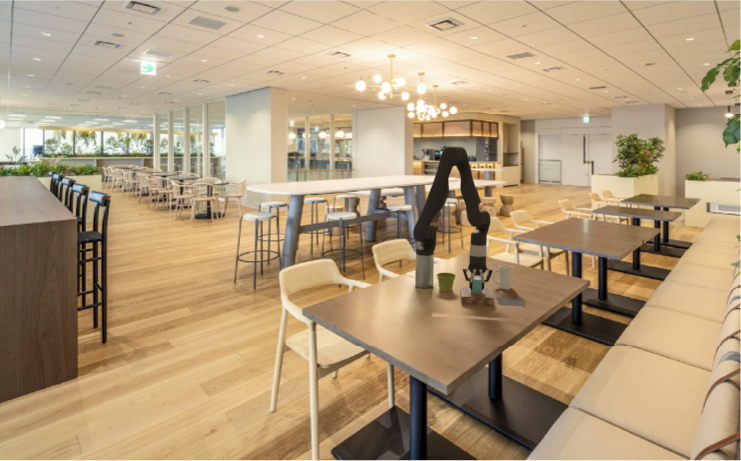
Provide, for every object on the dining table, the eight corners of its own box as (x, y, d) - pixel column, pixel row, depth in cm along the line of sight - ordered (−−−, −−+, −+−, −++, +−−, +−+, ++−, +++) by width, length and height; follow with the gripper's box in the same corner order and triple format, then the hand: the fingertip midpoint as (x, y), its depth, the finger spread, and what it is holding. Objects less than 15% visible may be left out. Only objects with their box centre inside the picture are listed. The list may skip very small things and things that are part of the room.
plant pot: (455, 295, 195) (455, 278, 194) (435, 294, 197) (436, 277, 196) (455, 289, 204) (455, 272, 203) (436, 288, 206) (436, 272, 205)
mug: (508, 286, 207) (509, 264, 205) (514, 291, 201) (515, 267, 199) (489, 287, 206) (490, 265, 204) (494, 291, 200) (495, 268, 198)
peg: (472, 300, 185) (472, 279, 183) (471, 297, 189) (472, 277, 187) (481, 301, 184) (481, 280, 182) (480, 298, 188) (481, 277, 186)
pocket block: (461, 305, 181) (461, 296, 180) (460, 295, 195) (460, 286, 194) (493, 307, 179) (493, 298, 178) (490, 297, 192) (490, 288, 191)
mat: (498, 306, 180) (498, 304, 179) (495, 298, 190) (495, 296, 190) (524, 308, 178) (524, 306, 177) (520, 299, 188) (520, 297, 188)
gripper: (462, 255, 180) (461, 291, 183) (495, 256, 178) (493, 293, 181) (461, 251, 188) (460, 286, 191) (493, 252, 185) (491, 288, 188)
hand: (476, 289), depth 186 cm, fingers closed on peg, 4 cm apart
